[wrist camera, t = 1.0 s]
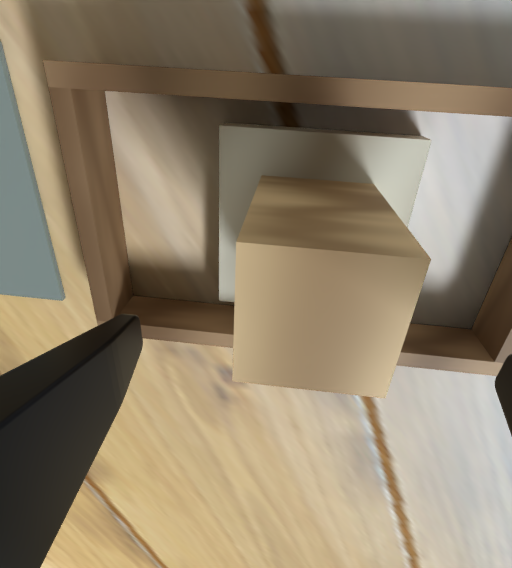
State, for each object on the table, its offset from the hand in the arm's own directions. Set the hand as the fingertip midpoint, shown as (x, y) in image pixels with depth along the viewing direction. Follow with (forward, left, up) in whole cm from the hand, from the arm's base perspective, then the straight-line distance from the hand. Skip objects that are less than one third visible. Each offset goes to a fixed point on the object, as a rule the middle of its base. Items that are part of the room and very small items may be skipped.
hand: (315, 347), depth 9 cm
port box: (0, 0, -9) cm, 9 cm away
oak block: (0, 0, -8) cm, 8 cm away
